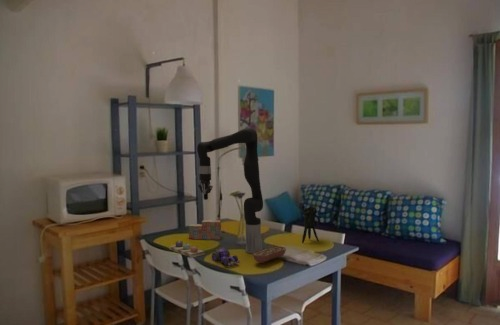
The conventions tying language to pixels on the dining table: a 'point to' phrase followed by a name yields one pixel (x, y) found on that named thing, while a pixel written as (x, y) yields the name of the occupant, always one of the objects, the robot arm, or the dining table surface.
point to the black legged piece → (309, 221)
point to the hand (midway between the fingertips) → (205, 199)
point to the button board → (186, 251)
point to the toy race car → (224, 256)
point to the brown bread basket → (269, 253)
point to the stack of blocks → (206, 230)
